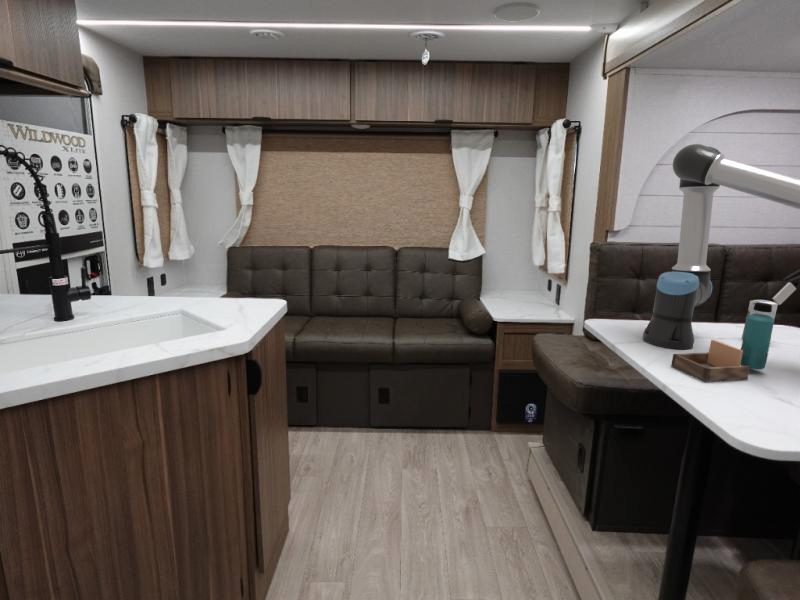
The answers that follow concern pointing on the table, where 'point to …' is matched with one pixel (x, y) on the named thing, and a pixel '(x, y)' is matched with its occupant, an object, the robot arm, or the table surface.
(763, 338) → the beverage bottle
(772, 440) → the table surface
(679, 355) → the wooden tray
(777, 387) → the table surface
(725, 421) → the table surface
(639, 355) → the table surface
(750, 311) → the syrup box
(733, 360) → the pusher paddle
